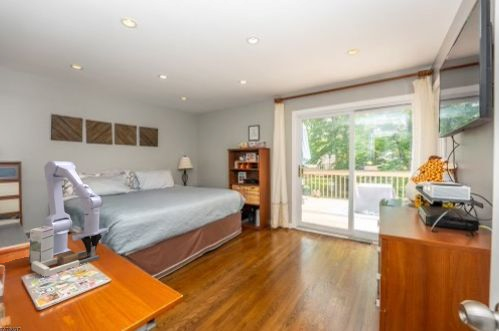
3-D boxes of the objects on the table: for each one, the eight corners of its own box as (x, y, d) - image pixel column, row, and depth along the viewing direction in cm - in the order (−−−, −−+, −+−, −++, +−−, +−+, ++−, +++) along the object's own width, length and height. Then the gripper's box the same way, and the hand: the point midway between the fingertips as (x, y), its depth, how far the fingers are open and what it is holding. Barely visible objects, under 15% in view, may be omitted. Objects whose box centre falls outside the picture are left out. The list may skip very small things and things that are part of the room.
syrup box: (53, 258, 101) (54, 226, 101) (40, 264, 95) (41, 230, 95) (42, 257, 101) (43, 225, 101) (28, 263, 95) (29, 229, 95)
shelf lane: (31, 269, 90) (31, 262, 90) (65, 259, 100) (65, 252, 100) (44, 277, 84) (44, 269, 84) (79, 265, 94) (79, 258, 94)
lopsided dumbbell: (57, 264, 95) (57, 252, 95) (89, 254, 106) (89, 244, 106) (63, 267, 92) (64, 255, 92) (96, 257, 103) (96, 246, 103)
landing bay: (65, 259, 100) (65, 256, 100) (85, 253, 107) (85, 250, 107) (79, 265, 94) (79, 262, 94) (99, 259, 101) (99, 255, 101)
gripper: (78, 227, 95) (77, 258, 95) (112, 220, 108) (111, 248, 108) (70, 224, 99) (69, 255, 99) (104, 218, 111) (103, 245, 111)
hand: (90, 251), depth 104 cm, fingers closed on lopsided dumbbell
